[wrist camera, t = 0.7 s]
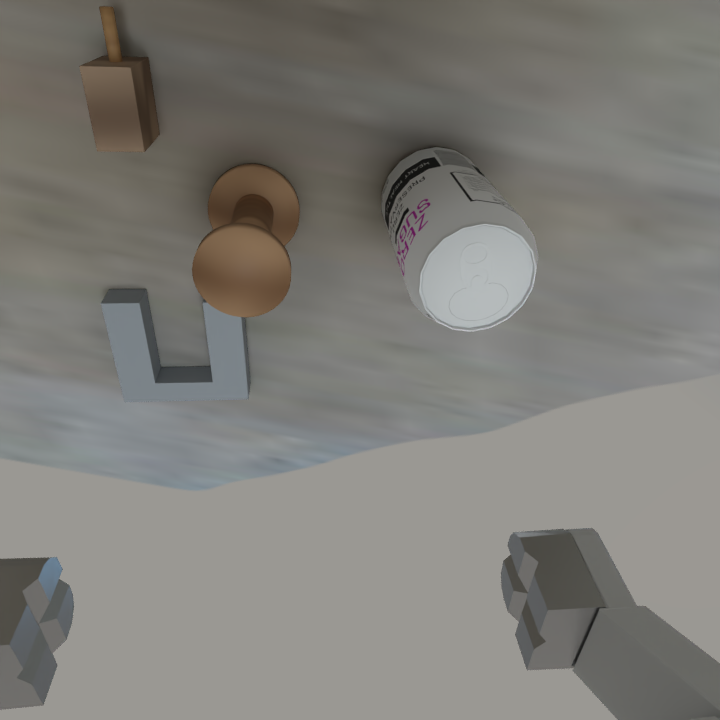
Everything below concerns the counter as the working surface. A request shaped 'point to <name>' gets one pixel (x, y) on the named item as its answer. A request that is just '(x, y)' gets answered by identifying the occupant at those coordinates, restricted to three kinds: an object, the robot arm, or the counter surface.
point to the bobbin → (247, 241)
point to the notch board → (156, 383)
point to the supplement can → (457, 241)
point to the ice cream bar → (119, 96)
